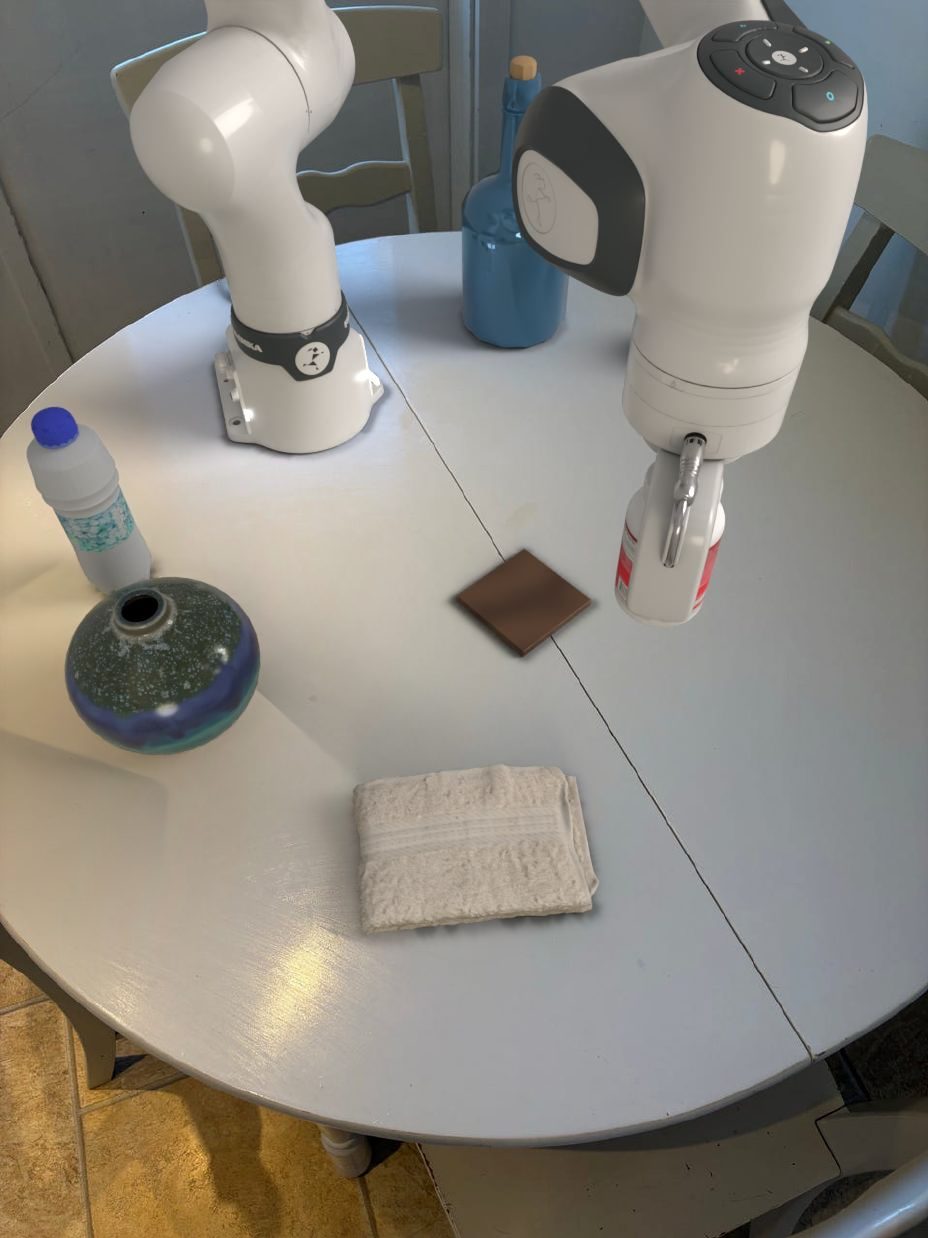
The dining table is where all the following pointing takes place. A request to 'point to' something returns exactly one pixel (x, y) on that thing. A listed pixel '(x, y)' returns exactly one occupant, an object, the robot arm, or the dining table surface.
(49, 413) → the bottle
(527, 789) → the washcloth
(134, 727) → the vase
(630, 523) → the pill bottle
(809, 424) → the dining table surface
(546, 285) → the wine bottle
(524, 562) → the coaster
